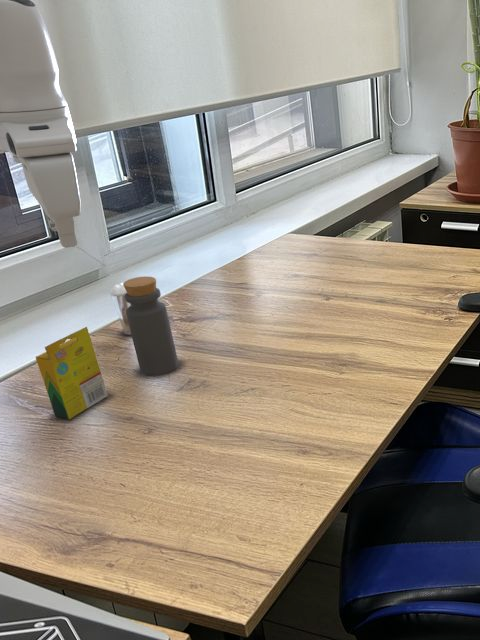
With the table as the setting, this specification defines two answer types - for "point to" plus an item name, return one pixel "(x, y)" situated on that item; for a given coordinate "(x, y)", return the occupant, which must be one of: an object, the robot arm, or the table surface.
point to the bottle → (150, 327)
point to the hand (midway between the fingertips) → (63, 237)
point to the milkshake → (121, 305)
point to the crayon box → (72, 374)
